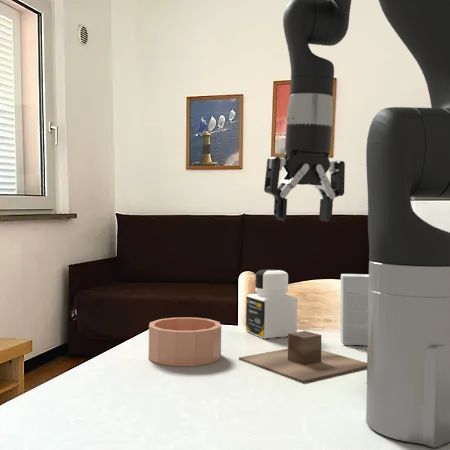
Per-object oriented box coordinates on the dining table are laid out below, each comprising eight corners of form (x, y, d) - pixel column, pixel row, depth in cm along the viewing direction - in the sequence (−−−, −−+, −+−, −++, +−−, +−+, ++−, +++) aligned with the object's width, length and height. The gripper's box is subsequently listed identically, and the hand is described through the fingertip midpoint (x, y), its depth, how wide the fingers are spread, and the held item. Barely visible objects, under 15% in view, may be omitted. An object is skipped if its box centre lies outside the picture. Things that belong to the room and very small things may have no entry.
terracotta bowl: (234, 359, 82) (234, 326, 82) (171, 370, 75) (172, 335, 75) (195, 344, 91) (195, 315, 91) (136, 353, 84) (136, 321, 84)
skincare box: (373, 341, 95) (375, 274, 95) (378, 347, 91) (379, 276, 91) (339, 340, 96) (340, 273, 96) (342, 345, 91) (343, 275, 91)
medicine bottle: (245, 331, 102) (246, 268, 101) (277, 328, 105) (278, 267, 104) (263, 339, 95) (264, 272, 95) (297, 336, 98) (298, 271, 98)
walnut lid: (372, 371, 78) (372, 337, 78) (303, 388, 70) (303, 350, 70) (305, 351, 90) (305, 321, 90) (238, 363, 82) (239, 331, 82)
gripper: (282, 119, 83) (276, 223, 84) (358, 125, 88) (351, 223, 90) (260, 121, 90) (255, 218, 91) (332, 128, 95) (326, 218, 97)
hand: (303, 220), depth 91 cm, fingers open, 8 cm apart
